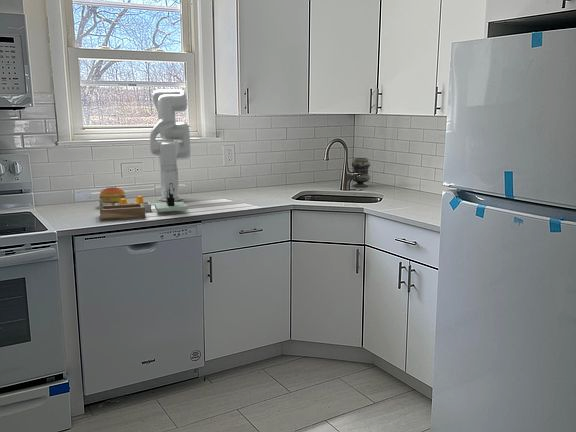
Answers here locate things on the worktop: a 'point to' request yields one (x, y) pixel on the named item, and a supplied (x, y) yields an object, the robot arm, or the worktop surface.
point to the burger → (111, 195)
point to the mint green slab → (165, 206)
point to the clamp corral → (146, 205)
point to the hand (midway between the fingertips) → (170, 204)
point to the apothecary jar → (361, 171)
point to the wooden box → (121, 211)
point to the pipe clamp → (138, 200)
